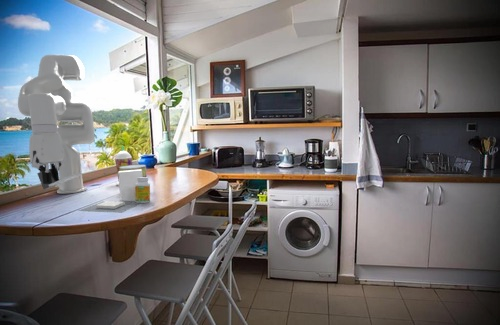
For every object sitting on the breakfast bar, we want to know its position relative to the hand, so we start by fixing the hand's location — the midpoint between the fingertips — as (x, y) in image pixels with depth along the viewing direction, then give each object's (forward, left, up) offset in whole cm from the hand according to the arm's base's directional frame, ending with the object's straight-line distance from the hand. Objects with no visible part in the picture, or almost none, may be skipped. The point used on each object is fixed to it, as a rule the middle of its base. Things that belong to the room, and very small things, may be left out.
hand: (51, 182), depth 111 cm
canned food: (+9, +35, -12) cm, 38 cm away
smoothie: (-10, +55, -12) cm, 57 cm away
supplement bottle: (+24, +18, -11) cm, 32 cm away
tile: (+12, +10, -10) cm, 18 cm away
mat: (+16, +10, -11) cm, 22 cm away
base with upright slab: (+16, +23, -12) cm, 30 cm away
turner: (+4, 0, 0) cm, 4 cm away
